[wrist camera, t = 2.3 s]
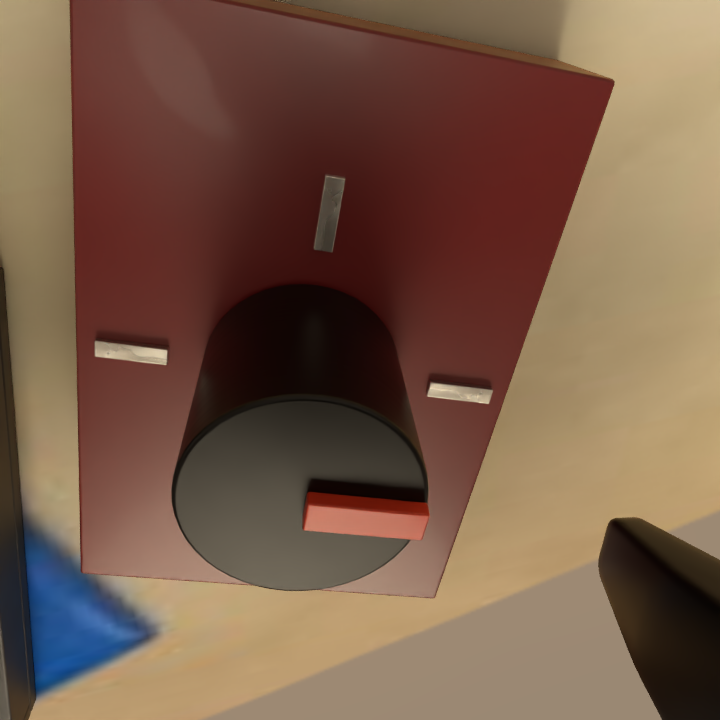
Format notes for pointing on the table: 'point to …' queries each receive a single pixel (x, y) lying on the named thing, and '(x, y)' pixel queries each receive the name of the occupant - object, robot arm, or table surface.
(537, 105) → the panel
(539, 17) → the table surface
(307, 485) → the dial
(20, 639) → the baking tray
